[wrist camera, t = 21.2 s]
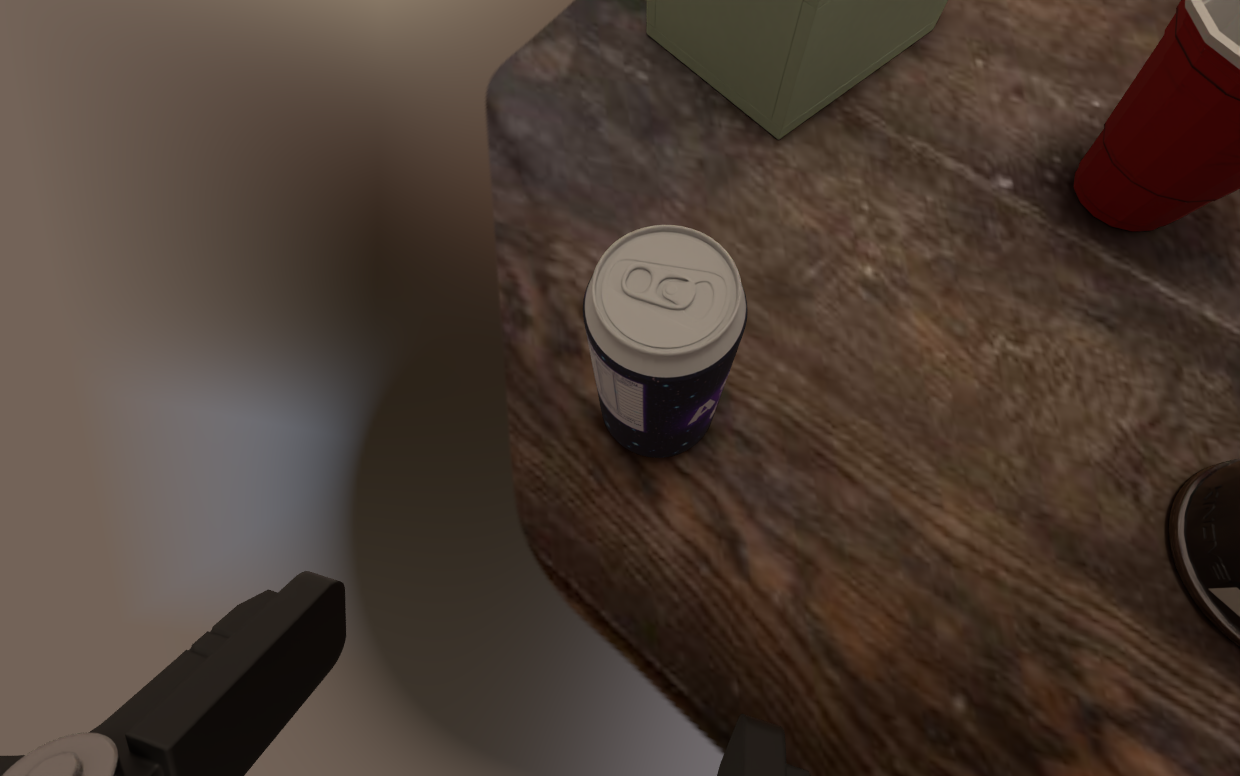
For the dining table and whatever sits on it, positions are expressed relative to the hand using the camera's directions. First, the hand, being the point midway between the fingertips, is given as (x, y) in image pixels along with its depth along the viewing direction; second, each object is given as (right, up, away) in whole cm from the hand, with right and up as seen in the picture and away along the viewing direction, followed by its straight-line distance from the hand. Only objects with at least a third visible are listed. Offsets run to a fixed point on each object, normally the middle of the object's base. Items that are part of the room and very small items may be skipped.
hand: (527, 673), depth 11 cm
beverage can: (+4, +4, +19) cm, 20 cm away
